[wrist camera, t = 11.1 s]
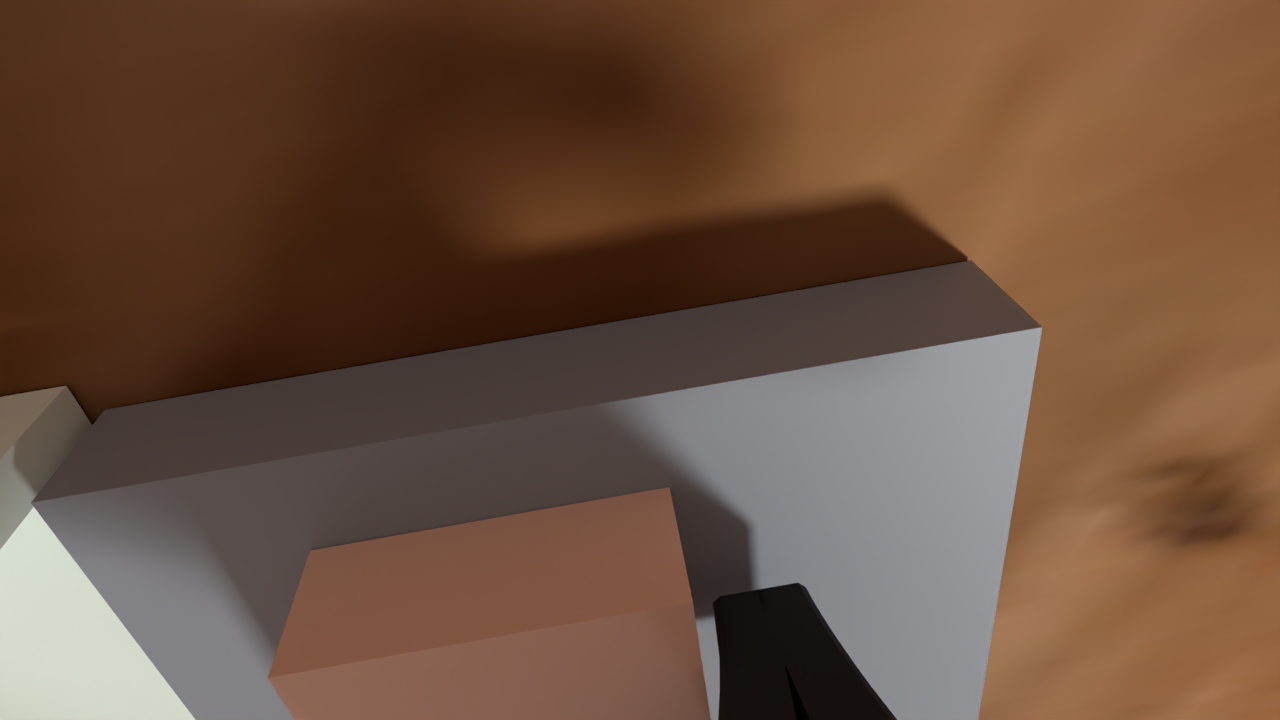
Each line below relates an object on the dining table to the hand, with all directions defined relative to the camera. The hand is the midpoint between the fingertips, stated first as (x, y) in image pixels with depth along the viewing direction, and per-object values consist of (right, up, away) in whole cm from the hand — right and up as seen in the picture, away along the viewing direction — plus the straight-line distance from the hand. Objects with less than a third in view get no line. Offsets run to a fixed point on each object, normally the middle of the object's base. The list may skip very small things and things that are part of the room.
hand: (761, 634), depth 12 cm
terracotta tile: (-4, 0, +1) cm, 4 cm away
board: (-2, -2, +4) cm, 5 cm away
